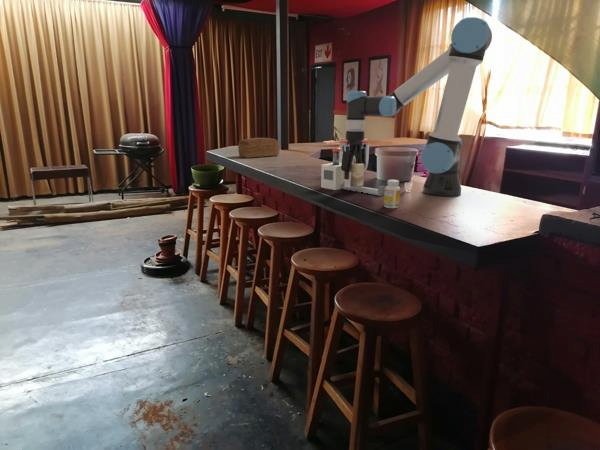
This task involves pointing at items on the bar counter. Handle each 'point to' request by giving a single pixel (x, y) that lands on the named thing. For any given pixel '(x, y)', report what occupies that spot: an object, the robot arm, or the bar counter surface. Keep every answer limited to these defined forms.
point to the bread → (258, 147)
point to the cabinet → (331, 176)
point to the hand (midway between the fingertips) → (353, 185)
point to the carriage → (356, 174)
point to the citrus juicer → (344, 143)
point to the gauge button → (336, 155)
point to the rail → (366, 189)
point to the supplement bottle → (392, 194)
